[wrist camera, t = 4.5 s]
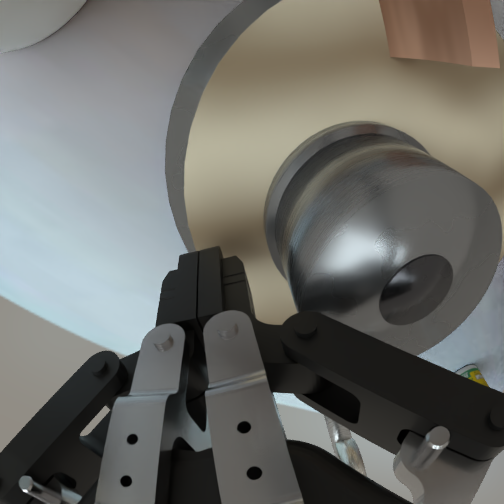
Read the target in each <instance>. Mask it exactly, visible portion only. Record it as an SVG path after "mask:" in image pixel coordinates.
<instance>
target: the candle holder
mask: <svg viewBox="0 0 504 504" xmlns="http://www.w3.org/2000/svg"><path fill="white" fill-rule="evenodd" d="M86 1H87V0H0V54H2V53H6V52H11V51H15V50H19V49H23V48H26V47H29V46H31V45H34V44H36V43H38V42H40V41H42V40H43V39H45V38H47V37H48V36H50V35H51V34H53V33H54V32H56V31H57V30H58V29H60V28H61V27H62V26H63V25H64V24H66V23H67V22H68V21H69V20H70V19H71V18H72V17H73V16H74V15H75V14H76V13H77V12H78V11H79V10H80V9H81V7H82V6H83V5H84V4H85V2H86Z"/></svg>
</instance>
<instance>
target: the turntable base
mask: <svg viewBox="0 0 504 504" xmlns="http://www.w3.org/2000/svg"><path fill="white" fill-rule="evenodd" d="M280 1H282V0H244V1H243V2H242V3H241V4H239V5H238V6H237V7H236V8H235V9H234V10H233V11H232V12H231V13H229V14H228V15H227V16H226V17H225V18H224V19H223V20H222V21H221V22H220V23H219V24H218V25H217V26H216V27H215V29H214V30H213V31H212V32H211V34H210V35H209V36H208V38H207V39H206V40H205V41H204V43H203V44H202V45H201V47H200V48H199V49H198V51H197V53H196V55H195V56H194V58H193V60H192V62H191V64H190V65H189V67H188V69H187V71H186V73H185V75H184V77H183V79H182V81H181V84H180V87H179V90H178V92H177V95H176V98H175V101H174V104H173V107H172V110H171V115H170V121H169V126H168V132H167V138H166V157H165V174H166V182H167V189H168V197H169V203H170V206H171V209H172V213H173V216H174V220H175V223H176V226H177V229H178V231H179V233H180V235H181V238H182V240H183V242H184V244H185V246H186V248H187V250H188V252H189V253H191V252H195V251H196V249H195V246H194V242H193V239H192V236H191V232H190V229H189V226H188V220H187V213H186V205H185V198H184V166H185V157H186V151H187V145H188V140H189V134H190V129H191V126H192V122H193V119H194V117H195V114H196V111H197V108H198V105H199V102H200V99H201V96H202V94H203V92H204V90H205V88H206V86H207V84H208V82H209V80H210V78H211V76H212V74H213V73H214V71H215V69H216V67H217V65H218V63H219V62H220V61H221V59H222V58H223V57H224V55H225V54H226V53H227V51H228V50H229V49H230V48H231V46H232V45H233V44H234V42H235V41H236V40H237V39H238V37H239V36H240V35H241V34H242V33H243V32H244V31H245V30H246V29H247V28H248V27H249V26H250V25H251V24H252V23H253V22H255V21H256V20H257V19H258V18H259V17H260V16H261V15H262V14H263V13H265V12H266V11H267V10H268V9H270V8H271V7H273V6H274V5H276V4H277V3H279V2H280Z"/></svg>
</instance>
